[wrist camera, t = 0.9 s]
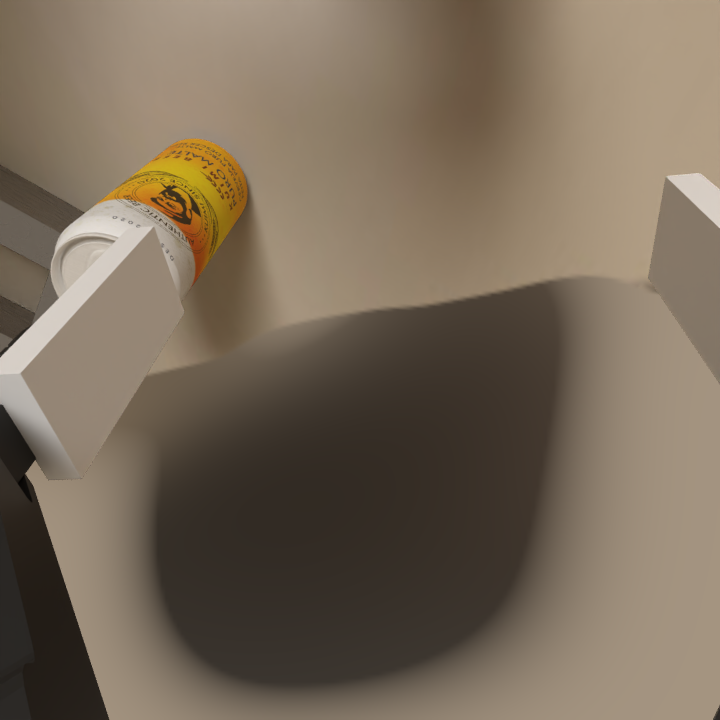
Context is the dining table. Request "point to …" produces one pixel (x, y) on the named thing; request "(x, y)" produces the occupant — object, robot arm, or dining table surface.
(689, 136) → the dining table surface
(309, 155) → the dining table surface
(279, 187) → the dining table surface
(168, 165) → the beer can
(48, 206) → the collar
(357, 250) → the dining table surface
